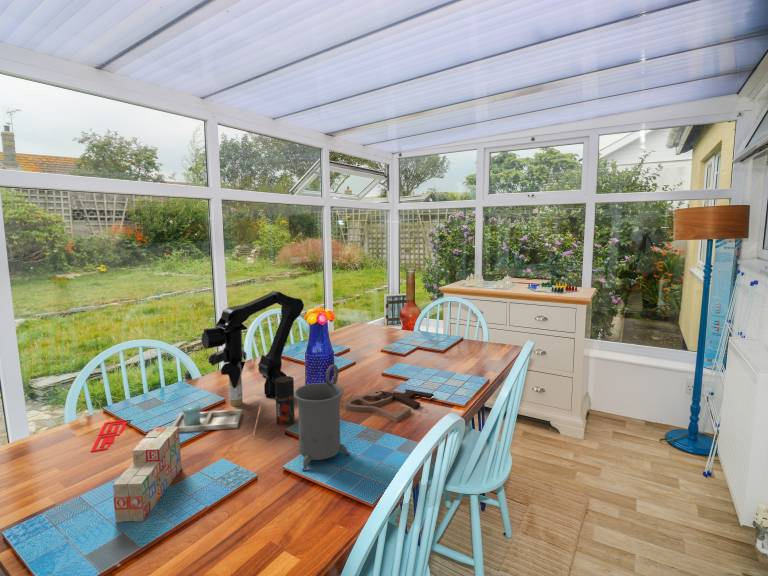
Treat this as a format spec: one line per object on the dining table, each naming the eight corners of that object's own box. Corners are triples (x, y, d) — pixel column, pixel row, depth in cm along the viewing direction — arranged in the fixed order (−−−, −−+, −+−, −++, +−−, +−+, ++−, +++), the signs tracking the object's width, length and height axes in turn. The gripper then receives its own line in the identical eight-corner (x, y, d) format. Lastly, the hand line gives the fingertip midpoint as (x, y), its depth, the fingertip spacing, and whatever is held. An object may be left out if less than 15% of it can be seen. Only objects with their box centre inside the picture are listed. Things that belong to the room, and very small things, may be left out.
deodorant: (297, 419, 145) (296, 377, 143) (288, 427, 140) (287, 383, 138) (282, 417, 147) (281, 375, 145) (272, 424, 142) (271, 381, 140)
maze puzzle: (104, 424, 142) (104, 422, 142) (171, 414, 150) (171, 412, 150) (90, 453, 124) (90, 451, 124) (168, 440, 132) (167, 438, 131)
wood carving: (433, 399, 165) (383, 385, 178) (434, 393, 164) (383, 380, 178) (393, 426, 142) (339, 408, 156) (393, 420, 142) (339, 403, 155)
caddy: (241, 415, 148) (241, 409, 148) (237, 430, 137) (237, 423, 137) (180, 420, 144) (179, 413, 144) (170, 435, 134) (169, 428, 133)
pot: (203, 419, 143) (202, 403, 142) (199, 426, 138) (198, 410, 137) (185, 420, 142) (184, 404, 141) (181, 428, 137) (180, 411, 136)
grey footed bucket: (326, 478, 112) (325, 386, 108) (280, 465, 118) (277, 378, 114) (359, 445, 129) (359, 365, 125) (318, 435, 135) (316, 358, 131)
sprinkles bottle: (239, 402, 159) (237, 367, 157) (245, 406, 156) (244, 370, 154) (227, 406, 156) (225, 370, 154) (233, 410, 152) (232, 373, 151)
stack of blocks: (144, 522, 95) (140, 470, 93) (115, 523, 94) (110, 471, 93) (182, 468, 116) (179, 425, 114) (158, 469, 116) (154, 426, 114)
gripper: (214, 337, 160) (217, 377, 162) (203, 351, 142) (206, 396, 144) (245, 336, 162) (247, 376, 164) (239, 350, 144) (240, 394, 146)
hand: (235, 385), depth 155 cm, fingers closed on sprinkles bottle, 4 cm apart
